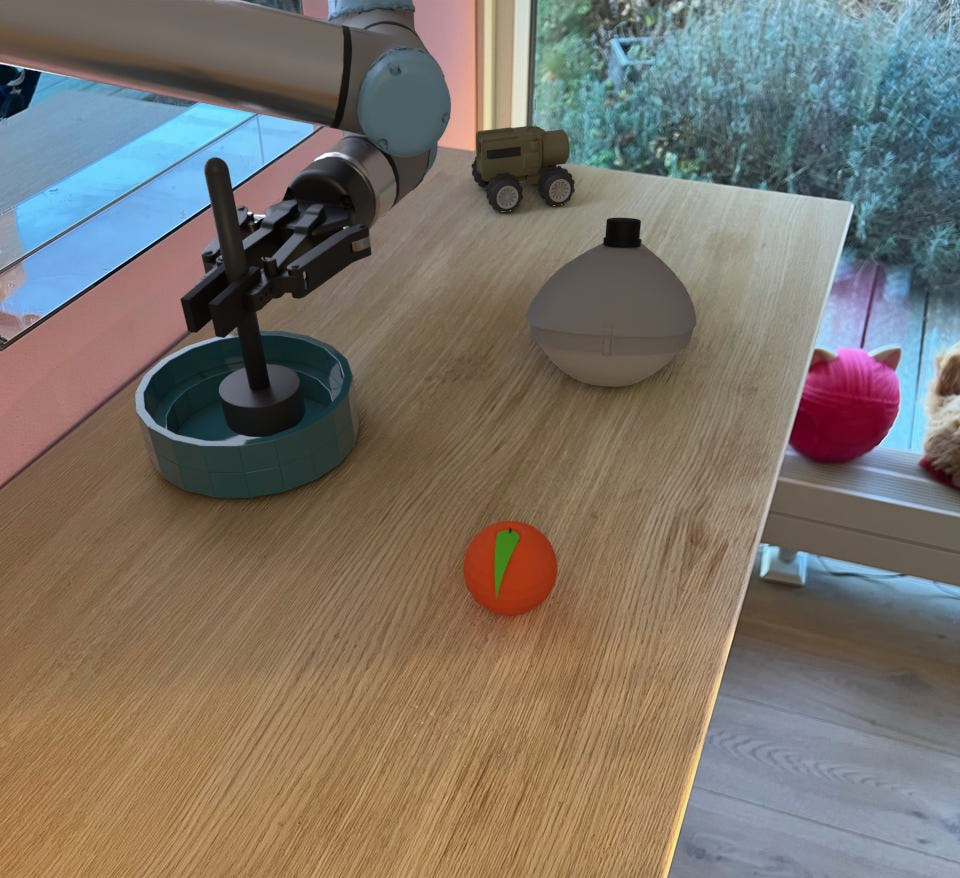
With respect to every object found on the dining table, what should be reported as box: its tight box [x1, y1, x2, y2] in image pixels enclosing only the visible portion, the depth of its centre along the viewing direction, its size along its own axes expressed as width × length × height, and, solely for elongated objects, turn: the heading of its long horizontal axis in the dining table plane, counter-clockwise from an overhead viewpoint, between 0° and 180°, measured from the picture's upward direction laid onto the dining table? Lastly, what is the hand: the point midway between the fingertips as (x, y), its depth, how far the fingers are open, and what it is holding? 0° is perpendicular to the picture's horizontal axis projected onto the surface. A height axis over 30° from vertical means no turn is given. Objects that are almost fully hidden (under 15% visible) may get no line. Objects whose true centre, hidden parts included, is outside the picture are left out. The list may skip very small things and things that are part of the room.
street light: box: [524, 217, 698, 388], centre depth 101 cm, size 30×16×14 cm, turn 171°
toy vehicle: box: [471, 98, 576, 212], centre depth 127 cm, size 10×11×12 cm
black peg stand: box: [203, 156, 305, 437], centre depth 84 cm, size 7×7×22 cm
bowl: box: [134, 330, 360, 499], centre depth 92 cm, size 19×19×6 cm
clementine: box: [462, 520, 558, 617], centre depth 75 cm, size 8×7×7 cm
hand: (202, 318), depth 79 cm, fingers closed on black peg stand, 2 cm apart
